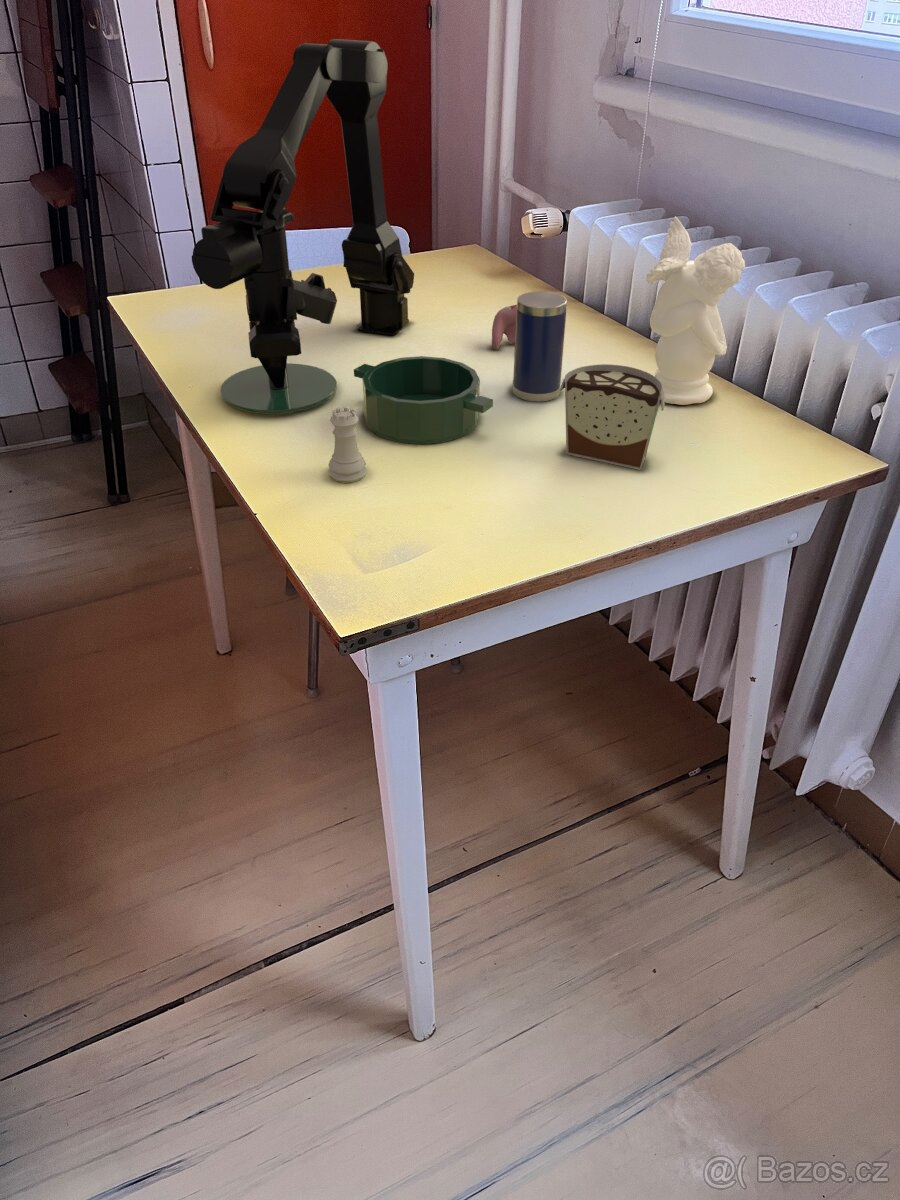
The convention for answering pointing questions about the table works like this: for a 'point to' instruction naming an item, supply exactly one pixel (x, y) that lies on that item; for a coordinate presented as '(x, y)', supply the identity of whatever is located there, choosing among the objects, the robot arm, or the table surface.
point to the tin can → (539, 345)
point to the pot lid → (278, 389)
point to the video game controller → (504, 325)
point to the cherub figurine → (690, 313)
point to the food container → (611, 413)
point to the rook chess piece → (346, 448)
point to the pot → (421, 399)
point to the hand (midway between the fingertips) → (278, 382)
